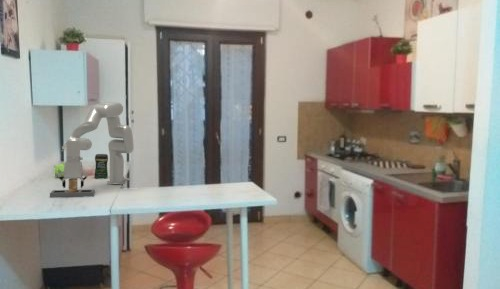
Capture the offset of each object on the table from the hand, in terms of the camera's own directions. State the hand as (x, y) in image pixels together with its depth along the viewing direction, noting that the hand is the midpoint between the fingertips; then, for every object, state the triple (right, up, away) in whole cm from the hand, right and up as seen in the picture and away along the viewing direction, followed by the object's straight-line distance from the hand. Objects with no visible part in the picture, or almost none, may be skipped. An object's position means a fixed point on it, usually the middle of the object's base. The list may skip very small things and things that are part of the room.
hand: (73, 187), depth 242 cm
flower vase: (-41, +3, +87) cm, 96 cm away
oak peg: (0, -5, 0) cm, 5 cm away
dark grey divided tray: (0, -5, 0) cm, 5 cm away
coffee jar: (-7, 0, +66) cm, 66 cm away
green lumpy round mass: (-34, +1, +63) cm, 72 cm away
